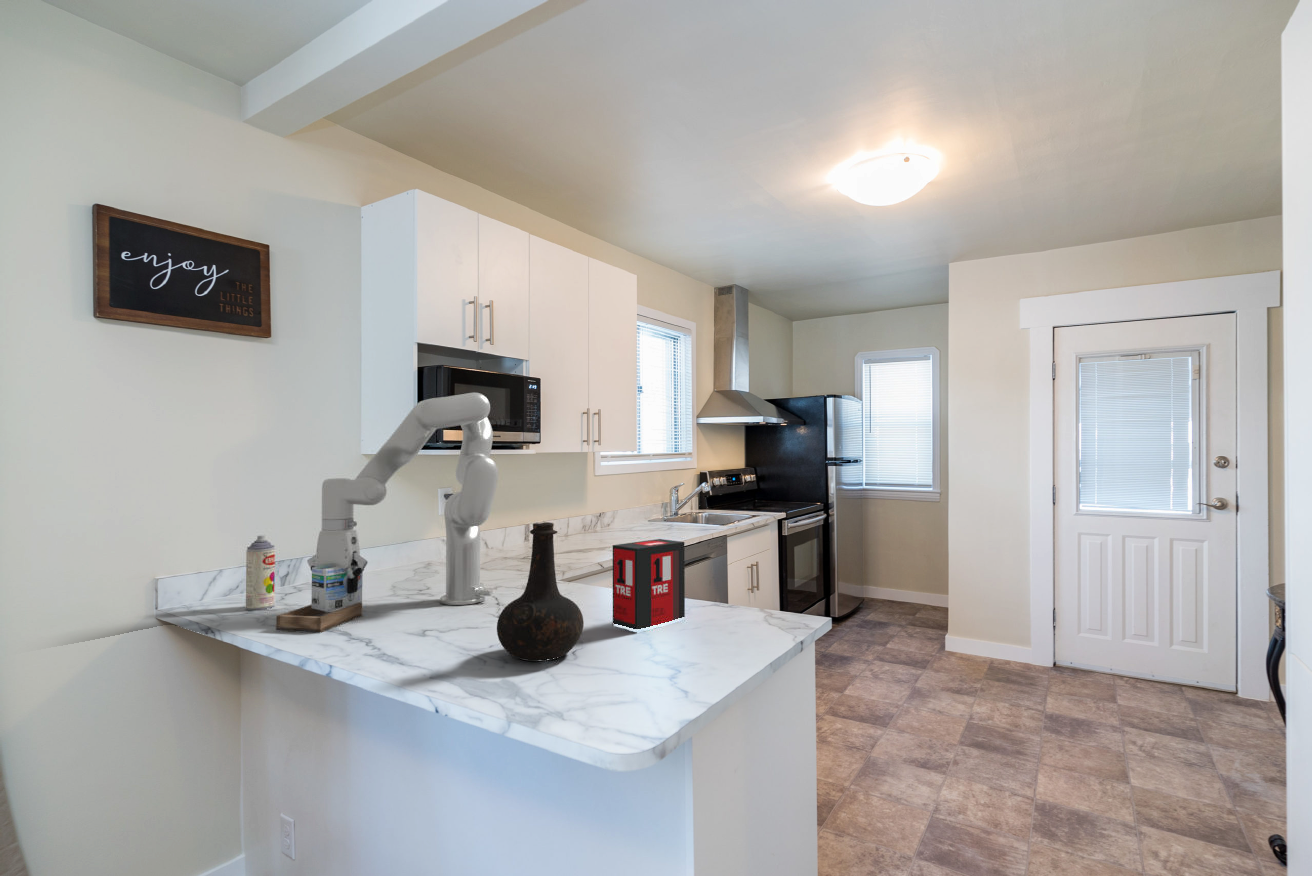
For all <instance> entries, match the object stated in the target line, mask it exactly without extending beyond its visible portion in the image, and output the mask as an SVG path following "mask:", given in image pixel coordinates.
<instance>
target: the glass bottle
mask: <svg viewBox="0 0 1312 876" xmlns="http://www.w3.org/2000/svg"><path fill="white" fill-rule="evenodd" d="M554 526H555V525H554V523H553V522H547V521H546V522H540V523H539V522H535V523H533V524H532V529H531V530H530V531H529V534H531V535H532V546H531V558H530V566H529V572H528V578H527V583H526V585H525V589H524V592H523V593H522V594H521V595H520V596H519V597H518V598H516V599H514V600H512V601H511V602H509V603H508V604H507V605H506V606H505V607H503V609H502V610H501V612H500V615H499V616H498V619H497V622H496V635H497V637H498V641H499V643H500V644H501V646H502V647H503V649H504V650H505V651H506V652H507V653H509V655H511V656H512V657H514V658H517V659H519V660H523V659H524V660H523V661H528V660H547V659H553V658H557V657H560V656H562V657H564V656H565V655H567V654H568V653H569V652H570V651H571V650H572V649H573V648H574V647H575V645H576V644H578V642H579V640H580V638H581V636H582V633H583V631H584V622H585V621H584V617H583V613H582V611H581V608H580V607H579V606H578V605H577V604H576V603H575V602H574V601H573V600H572V599H569V598H568V597H566V596H564V595H562V594H561V593H560V590H559V587H558V584H557V578H556V575H557V574H556V568H555V567H556V565H555V564H556V563H555V548H554V545H555V543H554V535H556V534H558V533H559V532H558V531H557V530H556V529H554ZM563 655H564V656H563ZM560 658H561V657H560Z"/></svg>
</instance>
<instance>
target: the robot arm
mask: <svg viewBox="0 0 1312 876" xmlns="http://www.w3.org/2000/svg"><path fill="white" fill-rule="evenodd" d="M490 411H491V403H490V401H489V399H488V398H487V396H485V395H484V394H482V393H479V392H468V393H463V394H462V393H461V394H456V395H449V396H442V397H433V398H428V399H427V398H426V399H424V400H421V401H419V402H418V403H416V404H415V405H414V407H413V408H412V409H411V410H410V411H409V413H407V415H406V416H405V418H404V419H403V420H402V421H401V423H400V424H399V425H398V427H397V428H396V429H395V431H394V432H393V433H392V434H391V435H390V436H389V438H388V439H387V440H386V442H384V444H383V445H382V446H381V447H380V449H379V450H378V451H377V452H376V453H375V454H374V455H373V457H372V458H371V459H370V460H368V462H367V463H366V465H364V467H363V468H362V470H361V471H360V472H359V474H358V475H357V476H356V477H355V479H350V478H339V477H338V478H335V477H334V478H327V479H324V480H323V482H322V483H321V484H322V485H321V530H320V531H319V532H318V537H317V543H316V551H315V554H314V555H313V556H311V557H310V558H309V559H307V560H306V562H307V564H308V566H309V568H310V571H311V572H312V567H318V566H326V567H340V568H341V569H342V570H346V572H347V574H348V575H349V577H350V578H348V579H347V593H348V594H351V593H354V592H357V588H358V576H360V574H361V573H362V572H364V570H365V568H366V566H367V565H368V563H369V562H368V560H366V559H365V557H363V556H361V554H360V552H361V551H360V542H359V536H358V532H357V530H356V529H354V528H355V527H357V525H358V523H357V521H355V519H354V506H355V505H358V506H359V505H360V506H376V505H378V504H381V503H382V502H383V500H384V499H385V498H386V496H387V492H388V491H387V486H386V484H387V483H388V482H389V481H390V480H391V478H392V477H393V476H394V475H395V473H397V472H398V471H399V470H400V469H401V468H403V467H404V466H406V465H407V464H409V463H410V462H412V461H413V460H414V458H416V457H417V455H418V454H419V453H420V452H421V451H422V448H423V447H424V446H425V445H426V443H427V442H428V441H429V439H430V438H431V437H432V435H433V434H434V433H435V432H436V431H437V430H438V429H444V428H450V427H451V428H452V427H458V426H460V427H461V429H462V442H461V448H460V452H459V457H458V461H457V465H456V469H455V477H456V480H457V481H458V483H459V484H460V485H461V489H460V491H457V492H454V493H453V494H451V495H450V496H449V497H448V498H447V500H446V501H445V504H444V513H443V516H444V523H445V535H446V536H445V537H446V538H445V540H446V541H445V544H446V545H445V594H444V595H442V596H441V597H440V598H439V599H440V600H439V601H440V603H441V604H442V605H443V604H444V605H450V606H465V605H473V604H478V603H481V602H484V601H485V600H486V596H487V597H492V595H493V589H492V588H491V587H488V588H487V587H486V588H485V587H484V583H481V531H480V526H481V525H483V524H484V523H485V522H486V521H487V520H488V519H489V517H490V515H491V511H492V508H493V502H494V500H495V494H496V490H497V485H498V481H499V480H498V479H499V470H498V466H497V463H496V462H495V461H494V460H493V459H492V458H491V452H492V445H493V441H494V440H493V439H494V438H493V437H494V432H493V428H492V424H491V422H490V420H489V418H488V416H489V414H490ZM355 565H357V566H358V568H357V567H356V566H355ZM351 569H352V570H351Z"/></svg>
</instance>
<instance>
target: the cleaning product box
mask: <svg viewBox="0 0 1312 876" xmlns="http://www.w3.org/2000/svg"><path fill="white" fill-rule="evenodd" d="M685 558H686V557H685V542H684V541H679V540H671V539H663V538H656V539H650V540H649V539H648V540H643V541H641V540H640V541H635V542H627V543H626V542H625V543H619V544H618V543H617V544H613V545H612V624H613V623H614V624H618V625H622V626H626V627H629V628H633V629H641V628H646V627H650V626H653V625H658V624H661V623H665V622H669V621H672V620H675V619H678V618H682V617H686V615H685V614H686V607H685V606H686V604H685V603H686V602H685V601H686V600H685V599H686V598H685V594H686V593H685V592H686V591H685V588H686V587H685V580H686V579H685V577H686V576H685Z"/></svg>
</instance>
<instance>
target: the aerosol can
mask: <svg viewBox="0 0 1312 876" xmlns="http://www.w3.org/2000/svg"><path fill="white" fill-rule="evenodd" d="M246 548H247V549H246V553H245V556H246V558H245V559H246V560H245V561H246V562H245V564H246V565H245V568H246V570H245V610H246V611H248V610H258V611H262V610H261V609H265V610H268V609H267V608H270V609H272V608H271V607H273V608H274V607H275V586H276V585H275V580H276V579H275V578H276V577H275V575H276V574H275V572H276V571H275V569H276V561H275V560H276V548H275V545H273V544H272V543H271V542H270V541H268V540H267V539H266V538H265V535H264V534H263V535H262V534H259V535H257V538H256V539H255V540H254V542H251V544H250V546H247V547H246Z"/></svg>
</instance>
